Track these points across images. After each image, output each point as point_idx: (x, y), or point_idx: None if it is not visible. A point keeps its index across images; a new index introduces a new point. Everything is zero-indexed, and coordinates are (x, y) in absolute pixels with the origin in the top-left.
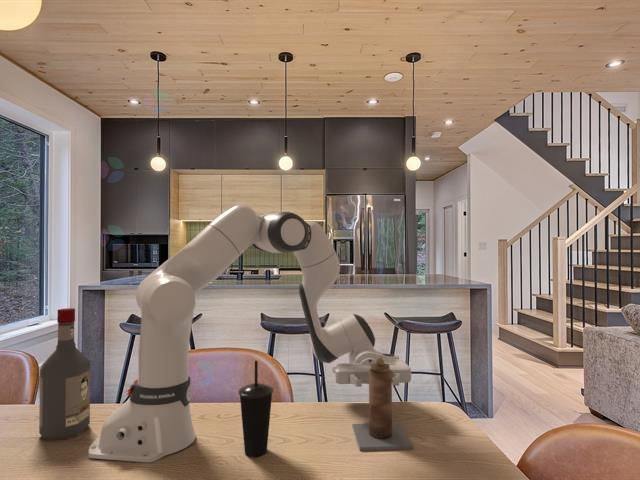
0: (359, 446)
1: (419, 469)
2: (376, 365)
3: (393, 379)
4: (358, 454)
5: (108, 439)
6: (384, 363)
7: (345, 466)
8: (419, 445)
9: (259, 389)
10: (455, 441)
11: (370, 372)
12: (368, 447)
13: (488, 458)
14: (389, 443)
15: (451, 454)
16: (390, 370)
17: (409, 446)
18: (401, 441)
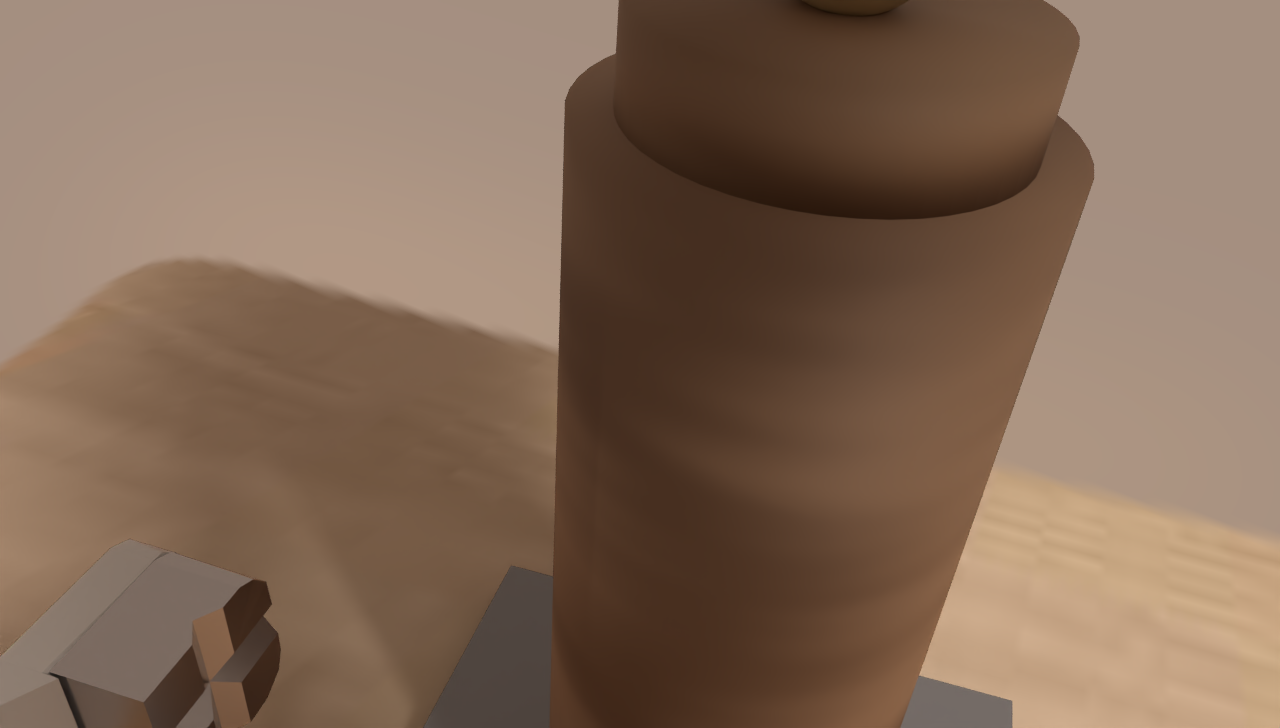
0: (1011, 718)
1: None
2: (934, 19)
3: (250, 580)
4: (1024, 680)
5: None
6: (665, 27)
7: (1154, 578)
8: (407, 618)
9: None
10: (51, 564)
11: (1067, 135)
12: (922, 681)
13: (123, 356)
14: None
15: (293, 451)
16: (600, 79)
17: (541, 578)
18: None
